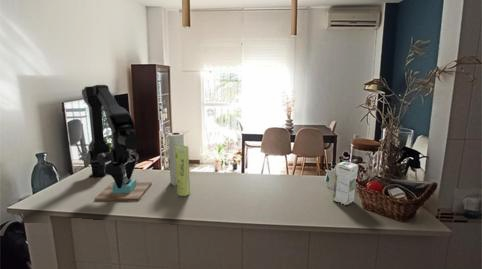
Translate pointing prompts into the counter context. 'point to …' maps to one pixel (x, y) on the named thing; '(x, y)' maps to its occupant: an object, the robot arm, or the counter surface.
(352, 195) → the syrup box
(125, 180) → the post
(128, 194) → the base plate
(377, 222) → the counter surface
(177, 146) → the tube
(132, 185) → the ring
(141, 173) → the counter surface
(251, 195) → the counter surface
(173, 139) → the paper towel roll
